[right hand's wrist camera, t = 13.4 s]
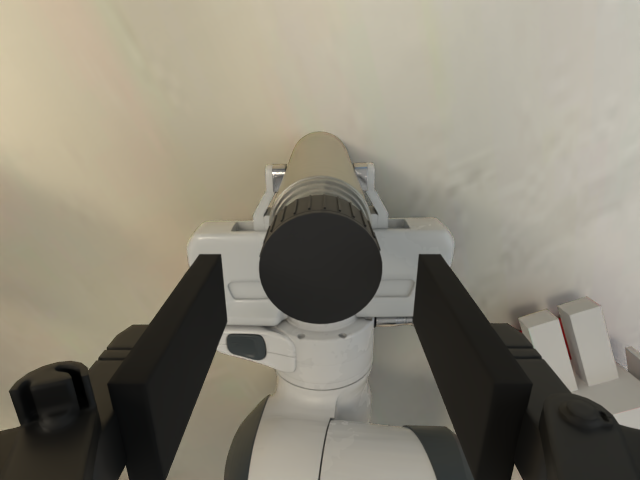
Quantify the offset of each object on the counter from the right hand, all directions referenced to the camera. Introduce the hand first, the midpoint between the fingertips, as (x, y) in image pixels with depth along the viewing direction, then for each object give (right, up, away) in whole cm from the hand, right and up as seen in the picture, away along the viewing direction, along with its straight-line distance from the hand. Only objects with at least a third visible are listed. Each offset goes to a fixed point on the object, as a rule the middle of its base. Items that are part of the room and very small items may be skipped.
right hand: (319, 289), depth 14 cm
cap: (0, +1, +1) cm, 1 cm away
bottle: (0, +9, +21) cm, 23 cm away
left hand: (0, +7, +15) cm, 17 cm away
